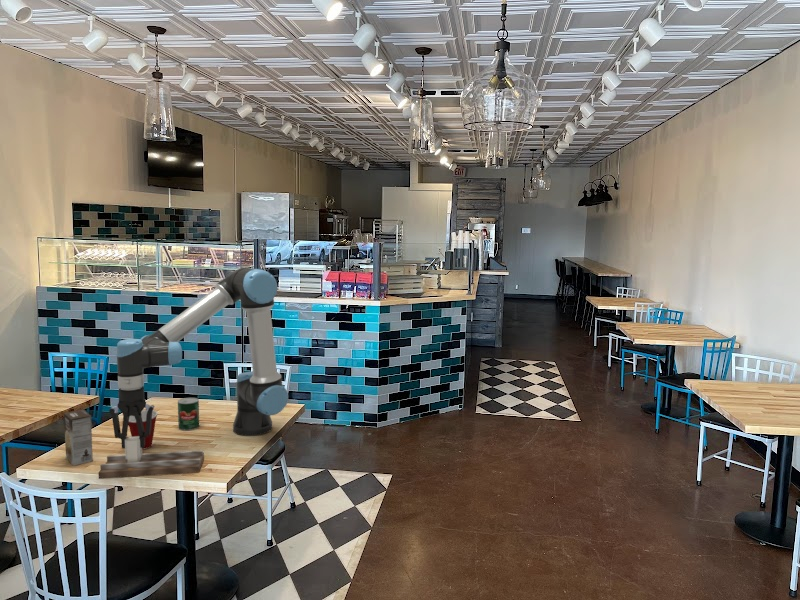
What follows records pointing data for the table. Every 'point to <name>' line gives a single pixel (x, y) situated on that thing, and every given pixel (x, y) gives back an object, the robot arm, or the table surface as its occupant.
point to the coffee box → (78, 437)
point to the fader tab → (132, 450)
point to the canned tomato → (188, 413)
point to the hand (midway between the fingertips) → (133, 457)
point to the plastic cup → (134, 428)
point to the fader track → (152, 464)
